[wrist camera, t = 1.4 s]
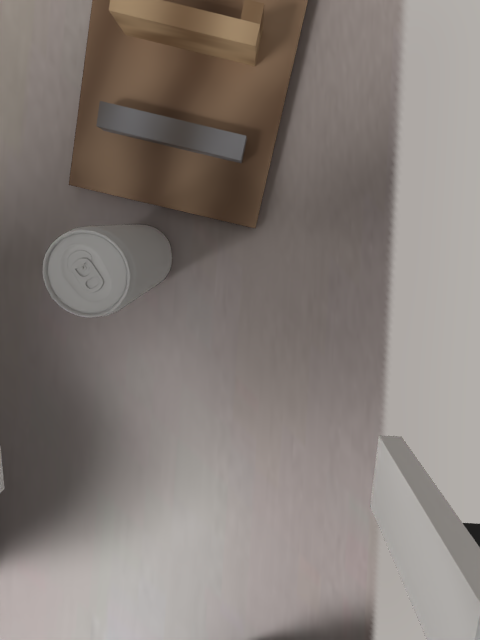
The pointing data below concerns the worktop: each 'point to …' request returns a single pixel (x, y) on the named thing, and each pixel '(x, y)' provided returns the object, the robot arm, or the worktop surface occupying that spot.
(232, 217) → the board
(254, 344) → the worktop surface
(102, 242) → the beverage can
